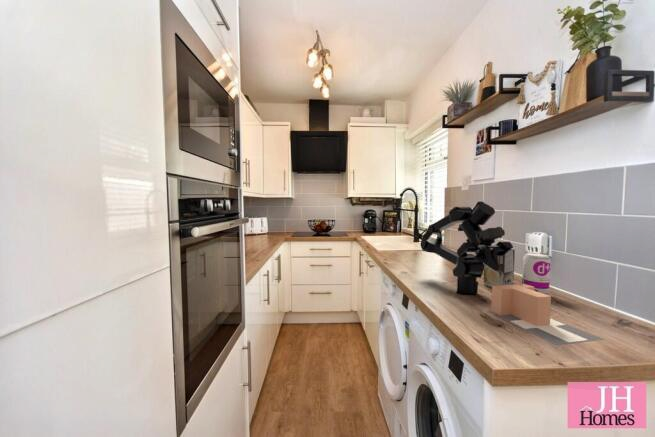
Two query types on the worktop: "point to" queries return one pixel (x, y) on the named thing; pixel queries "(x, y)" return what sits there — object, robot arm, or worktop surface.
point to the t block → (522, 303)
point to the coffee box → (501, 271)
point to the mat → (552, 330)
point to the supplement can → (537, 272)
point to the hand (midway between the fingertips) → (497, 270)
